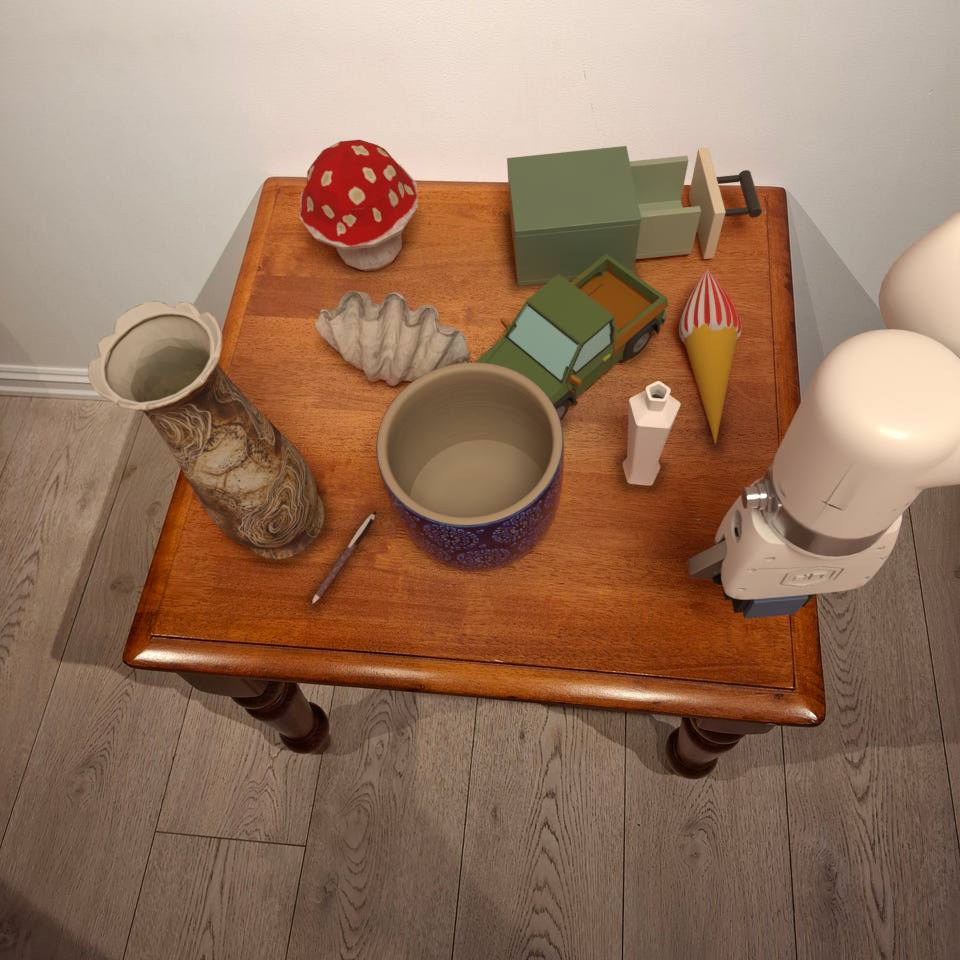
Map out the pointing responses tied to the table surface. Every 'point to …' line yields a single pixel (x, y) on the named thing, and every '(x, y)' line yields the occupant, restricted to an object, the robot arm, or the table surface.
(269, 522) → the vase
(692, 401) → the table surface
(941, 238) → the robot arm
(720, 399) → the ice cream cone
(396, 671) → the table surface
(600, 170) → the cabinet
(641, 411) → the perfume bottle
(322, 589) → the pen
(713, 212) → the drawer
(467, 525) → the planter
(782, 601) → the block
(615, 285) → the toy truck
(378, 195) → the decorative mushroom
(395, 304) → the seashell
